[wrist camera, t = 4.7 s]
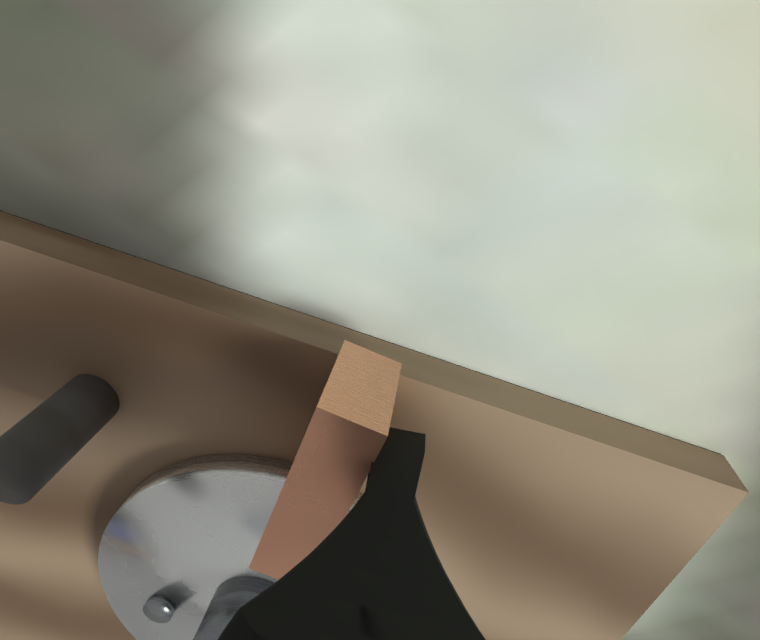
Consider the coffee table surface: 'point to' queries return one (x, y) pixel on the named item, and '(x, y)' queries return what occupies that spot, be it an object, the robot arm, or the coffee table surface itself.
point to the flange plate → (243, 512)
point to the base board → (284, 436)
